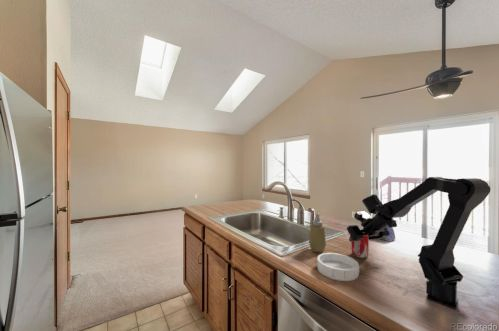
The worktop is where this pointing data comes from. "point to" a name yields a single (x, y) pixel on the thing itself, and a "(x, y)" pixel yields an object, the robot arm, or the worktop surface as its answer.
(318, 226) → the squeeze bottle
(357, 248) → the soda can
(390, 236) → the mineral
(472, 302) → the worktop surface
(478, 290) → the worktop surface
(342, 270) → the bowl
